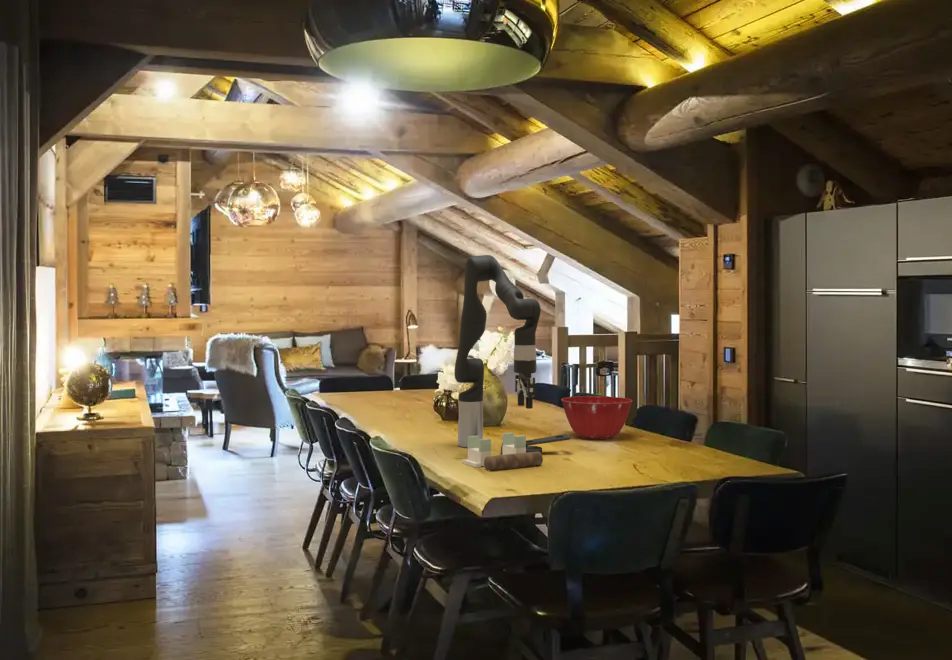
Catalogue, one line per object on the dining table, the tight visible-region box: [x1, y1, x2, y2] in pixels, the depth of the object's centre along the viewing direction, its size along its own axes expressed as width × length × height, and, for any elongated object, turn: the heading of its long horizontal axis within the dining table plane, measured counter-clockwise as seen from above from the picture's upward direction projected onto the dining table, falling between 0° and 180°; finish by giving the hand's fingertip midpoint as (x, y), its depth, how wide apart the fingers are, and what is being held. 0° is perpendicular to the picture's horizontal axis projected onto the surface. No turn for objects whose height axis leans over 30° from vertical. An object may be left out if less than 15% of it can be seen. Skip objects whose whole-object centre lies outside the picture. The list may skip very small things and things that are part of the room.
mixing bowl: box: [561, 395, 633, 440], centre depth 372 cm, size 28×28×16 cm
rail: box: [484, 451, 544, 472], centre depth 307 cm, size 20×5×5 cm, turn 120°
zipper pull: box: [500, 433, 571, 455], centre depth 334 cm, size 9×7×25 cm
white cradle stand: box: [461, 432, 527, 468], centre depth 316 cm, size 22×9×9 cm, turn 120°
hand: (525, 407), depth 308 cm, fingers open, 8 cm apart
